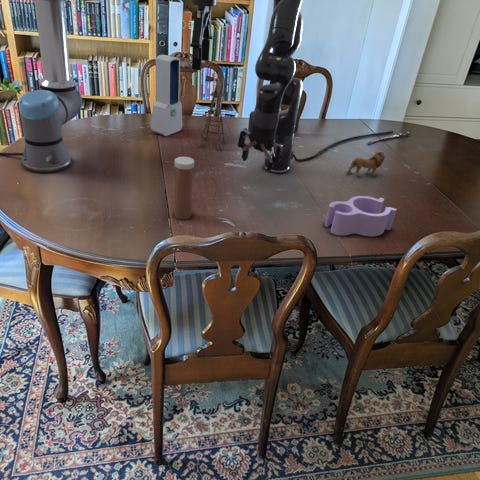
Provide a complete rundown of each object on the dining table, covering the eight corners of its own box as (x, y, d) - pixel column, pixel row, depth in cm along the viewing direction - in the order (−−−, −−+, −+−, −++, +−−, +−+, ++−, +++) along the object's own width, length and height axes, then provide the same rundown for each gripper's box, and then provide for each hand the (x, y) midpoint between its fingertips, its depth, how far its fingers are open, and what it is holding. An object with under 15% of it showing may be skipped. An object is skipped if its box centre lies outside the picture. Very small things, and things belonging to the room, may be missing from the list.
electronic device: (164, 137, 190) (164, 60, 174) (149, 132, 193) (148, 56, 177) (182, 129, 199) (184, 56, 183) (169, 125, 202) (169, 52, 186)
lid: (175, 169, 128) (175, 164, 127) (173, 161, 132) (173, 156, 131) (195, 169, 129) (195, 164, 128) (192, 161, 133) (193, 156, 132)
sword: (406, 132, 223) (406, 130, 222) (411, 134, 221) (412, 132, 220) (362, 144, 207) (363, 141, 206) (368, 146, 205) (368, 143, 204)
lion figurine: (375, 170, 181) (381, 148, 176) (383, 176, 177) (389, 153, 172) (342, 172, 176) (348, 150, 171) (350, 178, 172) (355, 156, 167)
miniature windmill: (220, 150, 184) (225, 71, 167) (199, 146, 185) (203, 68, 168) (225, 142, 191) (231, 66, 175) (205, 139, 192) (209, 63, 176)
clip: (337, 240, 135) (342, 219, 131) (318, 218, 145) (322, 198, 141) (395, 233, 141) (402, 213, 137) (373, 213, 151) (378, 194, 147)
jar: (175, 219, 137) (176, 165, 127) (174, 211, 141) (175, 158, 131) (192, 219, 138) (194, 165, 128) (190, 211, 142) (192, 158, 132)
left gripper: (209, -5, 127) (205, 75, 138) (223, -12, 148) (218, 58, 159) (181, -8, 127) (180, 72, 139) (199, -15, 148) (197, 55, 160)
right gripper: (292, 124, 137) (281, 167, 149) (249, 106, 140) (242, 150, 152) (281, 135, 132) (271, 179, 144) (237, 117, 136) (231, 162, 148)
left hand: (200, 65), depth 149 cm, fingers open, 13 cm apart
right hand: (256, 164), depth 148 cm, fingers open, 8 cm apart
